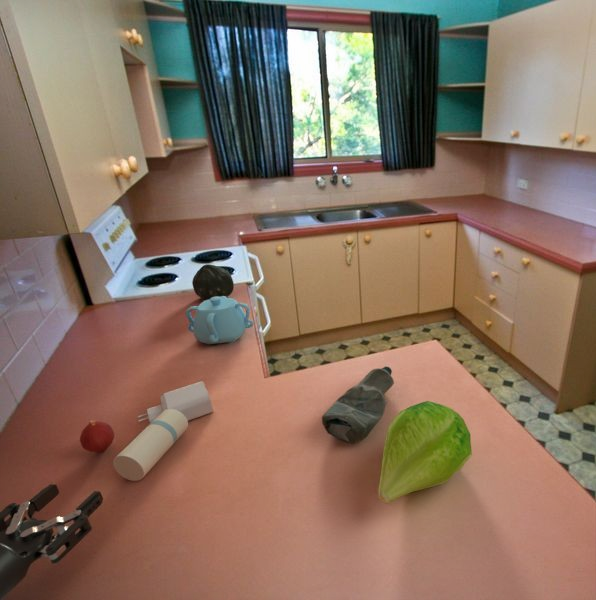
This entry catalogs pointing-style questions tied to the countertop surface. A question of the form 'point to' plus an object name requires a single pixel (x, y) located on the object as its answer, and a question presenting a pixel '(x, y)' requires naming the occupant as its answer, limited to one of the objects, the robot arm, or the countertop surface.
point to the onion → (96, 436)
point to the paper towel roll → (150, 445)
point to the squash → (212, 282)
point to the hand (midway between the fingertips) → (77, 491)
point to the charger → (183, 402)
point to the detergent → (359, 407)
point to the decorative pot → (219, 320)
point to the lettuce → (422, 449)
